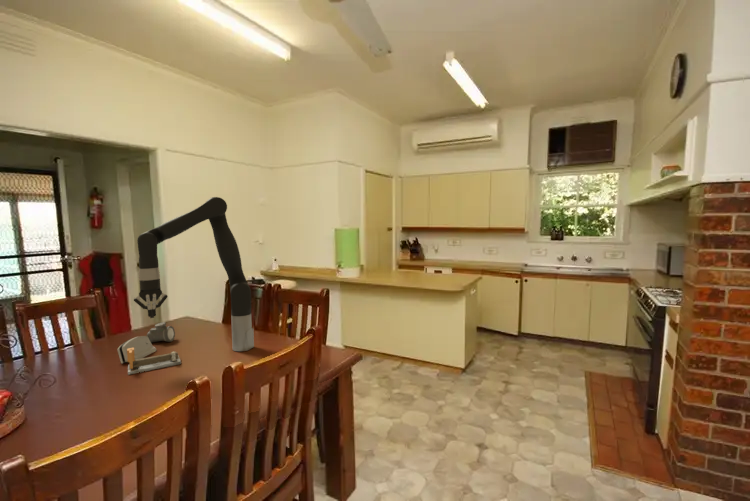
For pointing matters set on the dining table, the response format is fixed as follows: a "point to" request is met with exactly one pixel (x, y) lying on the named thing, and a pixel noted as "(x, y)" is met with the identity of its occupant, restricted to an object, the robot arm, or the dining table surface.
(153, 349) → the hinge
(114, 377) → the dining table surface
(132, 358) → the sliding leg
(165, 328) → the pipe fitting
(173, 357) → the grey piece
